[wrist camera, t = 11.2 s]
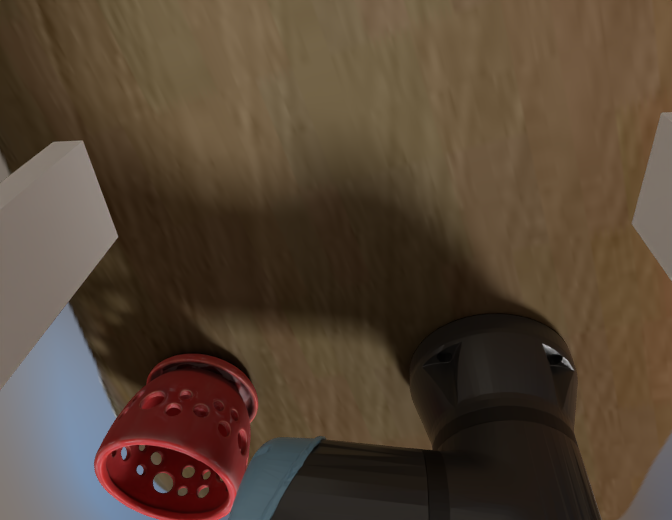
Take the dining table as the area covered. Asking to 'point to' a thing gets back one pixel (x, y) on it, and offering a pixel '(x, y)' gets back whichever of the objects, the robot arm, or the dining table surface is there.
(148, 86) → the dining table surface
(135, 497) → the plant pot
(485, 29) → the dining table surface
